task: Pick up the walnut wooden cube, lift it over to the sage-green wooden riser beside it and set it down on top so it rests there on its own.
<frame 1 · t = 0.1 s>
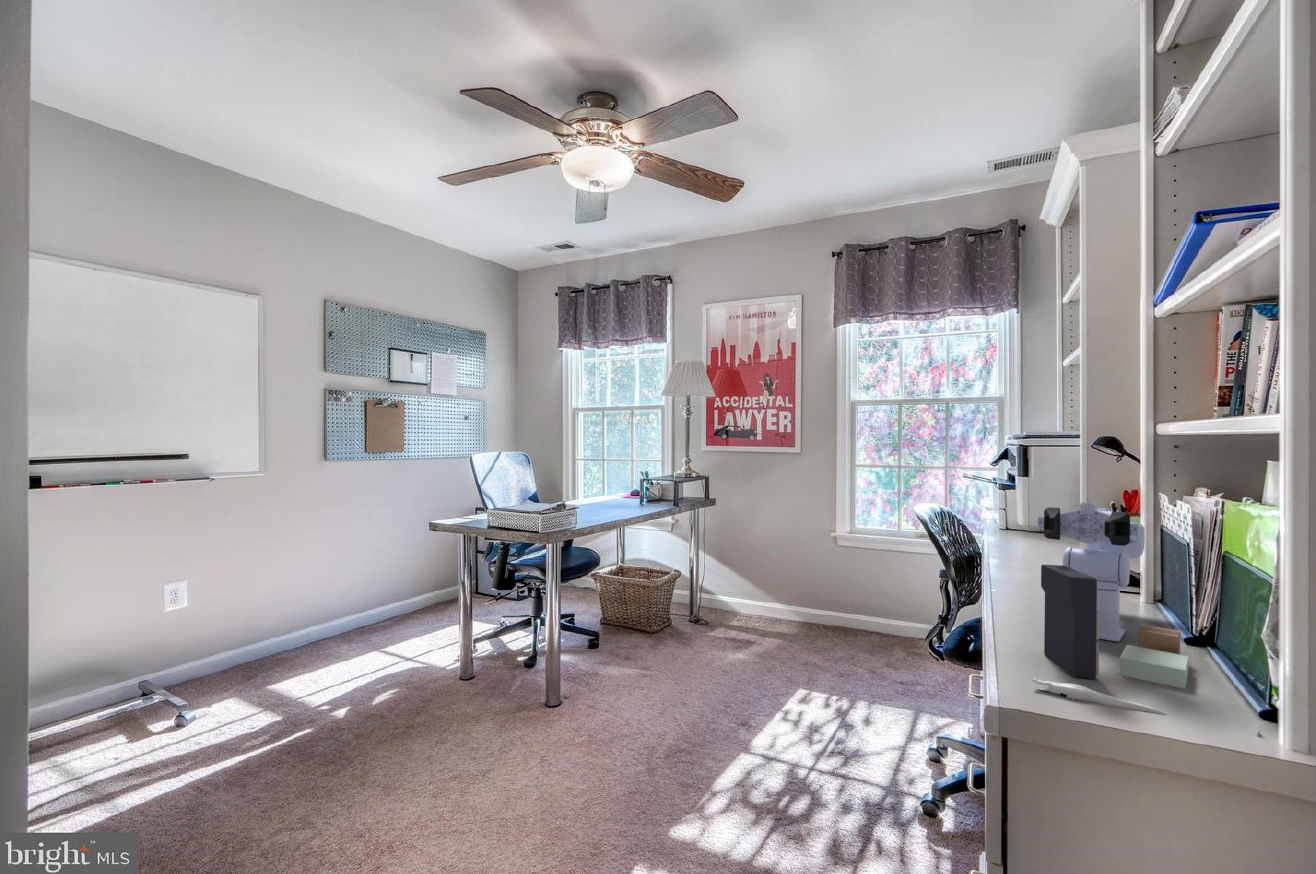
hand: (1078, 526, 102), 22 cm above the table, tool horizontal, fingers open, 7 cm apart
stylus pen: (1096, 704, 84), on the table
calculator: (1069, 668, 97), on the table
walnut cube: (1159, 661, 101), on the table
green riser: (1154, 676, 95), on the table
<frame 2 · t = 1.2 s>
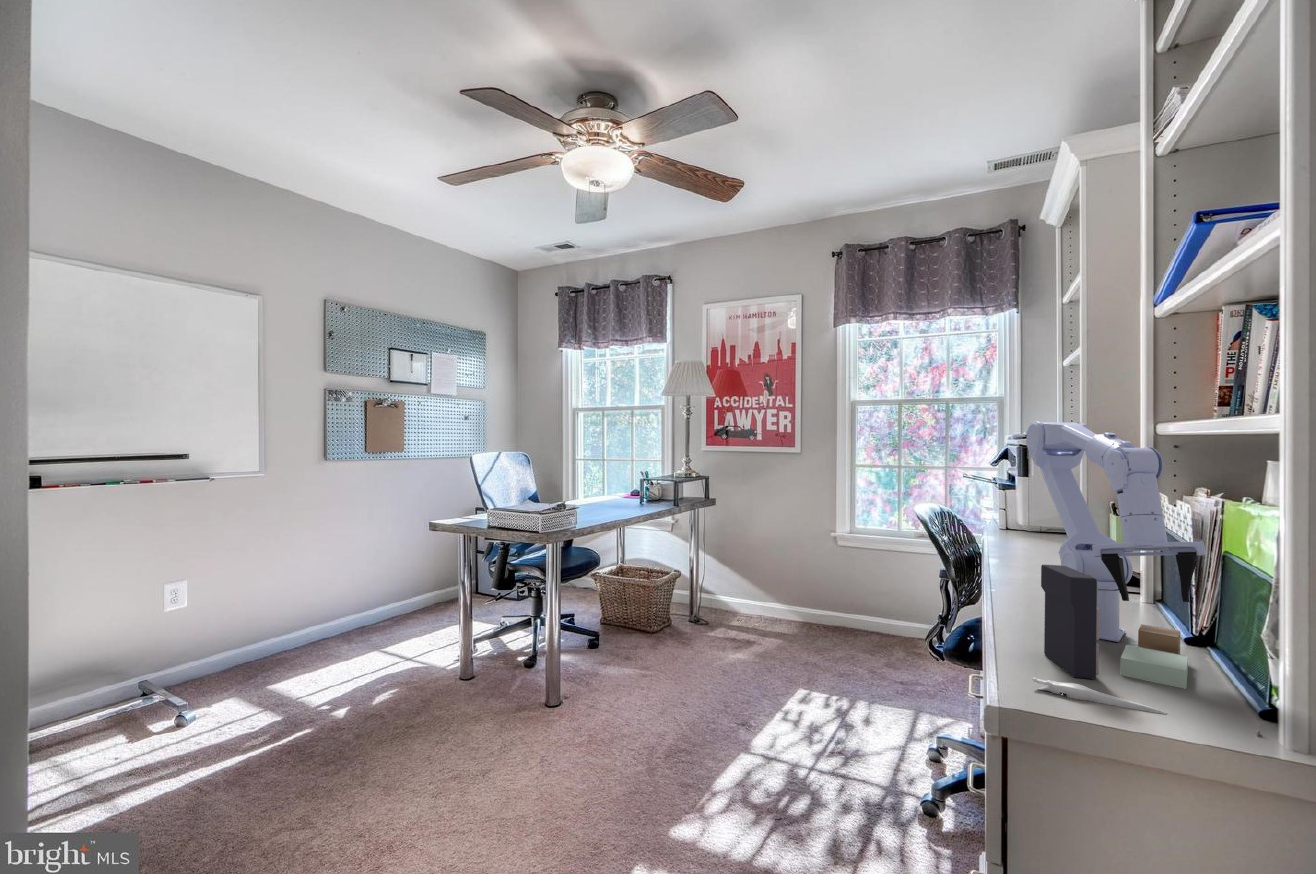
hand: (1155, 601, 99), 10 cm above the table, tool pointing down, fingers open, 7 cm apart
nothing on the table moved.
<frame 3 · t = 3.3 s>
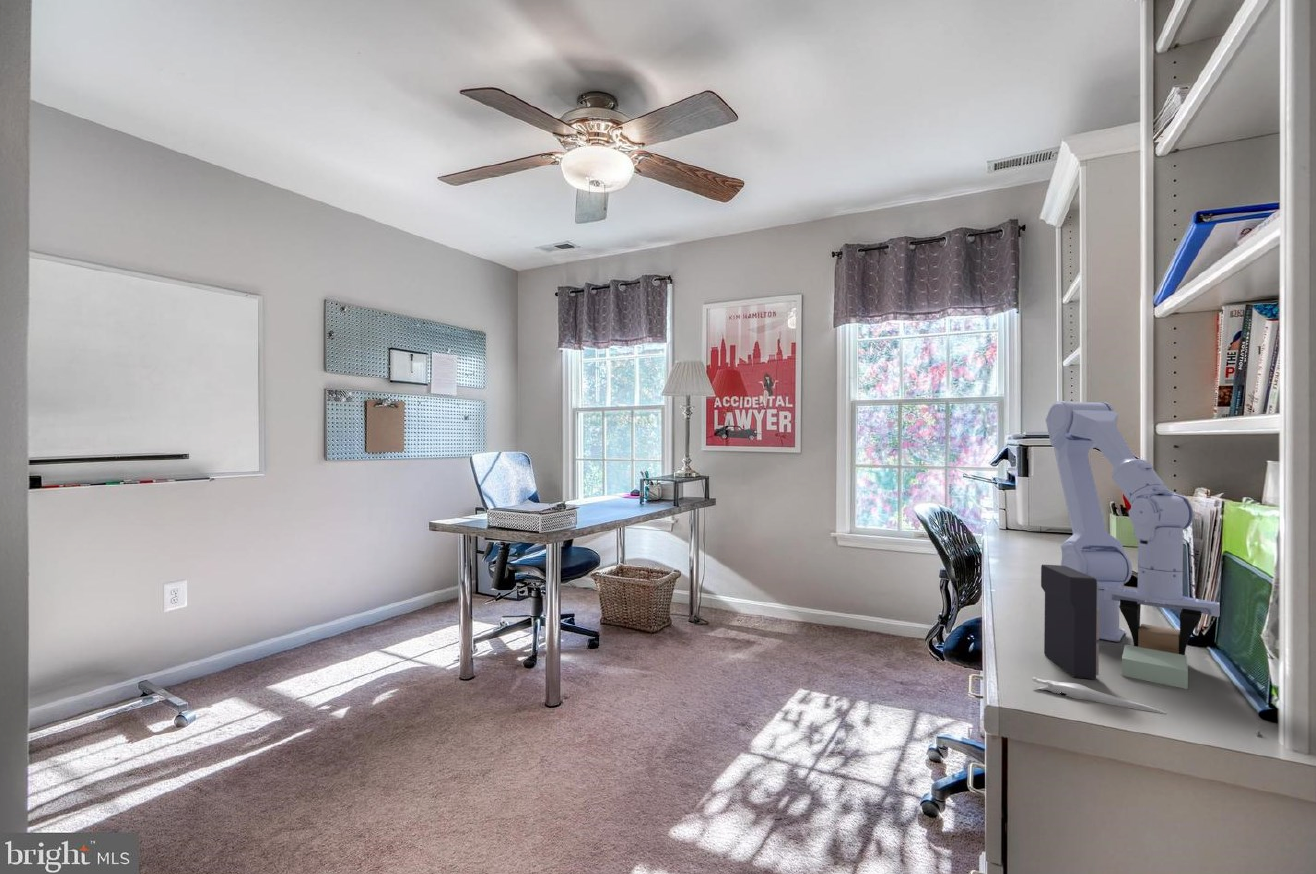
hand: (1159, 651, 101), 1 cm above the table, tool pointing down, fingers closed on walnut cube, 5 cm apart
walnut cube: (1159, 660, 101), on the table, touching gripper
everything else where it was.
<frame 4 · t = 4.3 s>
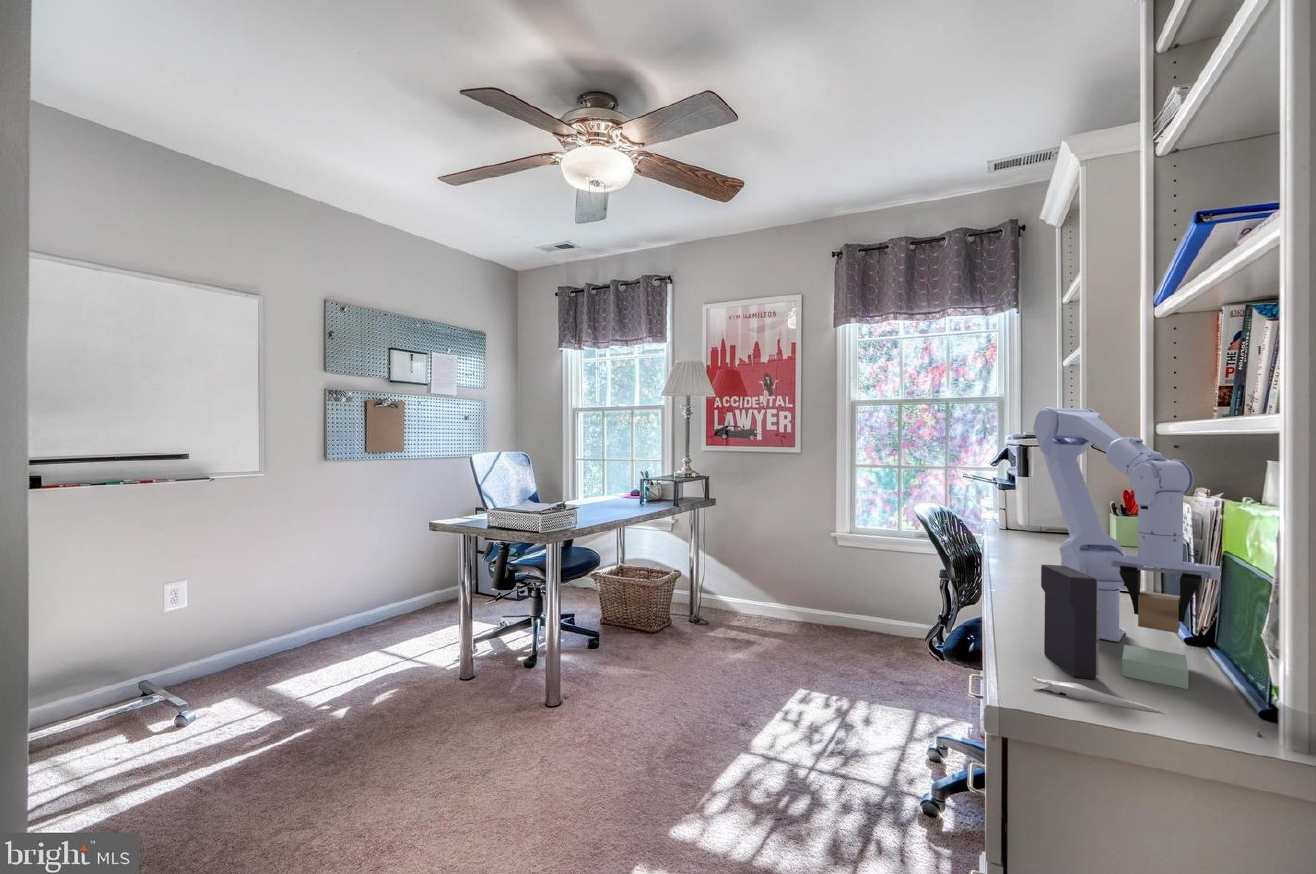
hand: (1159, 616, 101), 7 cm above the table, tool pointing down, fingers closed on walnut cube, 5 cm apart
walnut cube: (1159, 626, 101), point 6 cm above the table, touching gripper
everything else where it was.
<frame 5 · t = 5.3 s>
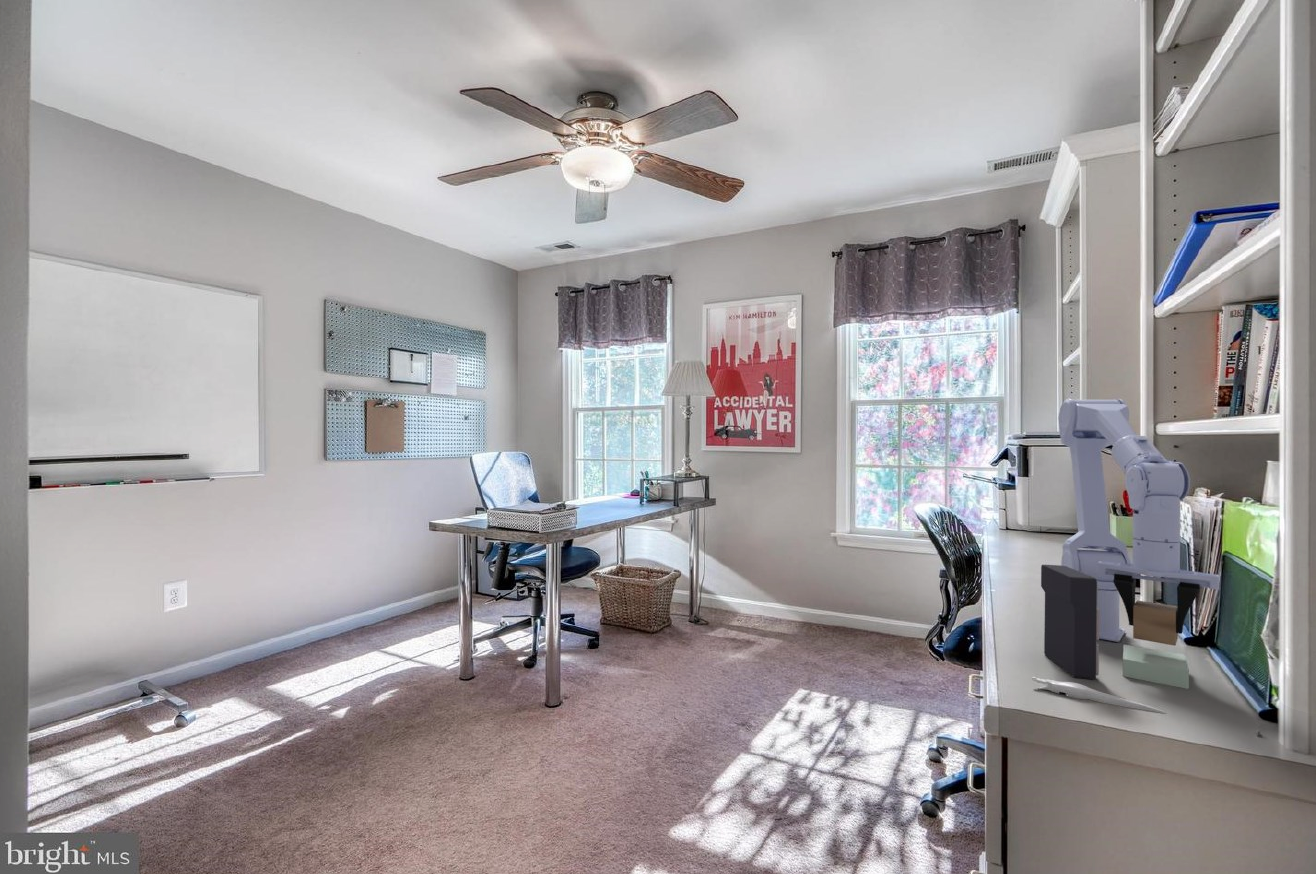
hand: (1155, 628, 95), 7 cm above the table, tool pointing down, fingers closed on walnut cube, 5 cm apart
walnut cube: (1155, 638, 95), point 5 cm above the table, touching gripper
everything else where it was.
when the fingers open (6 cm above the table, at t = 6.3 s): walnut cube drops 2 cm, resting on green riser.
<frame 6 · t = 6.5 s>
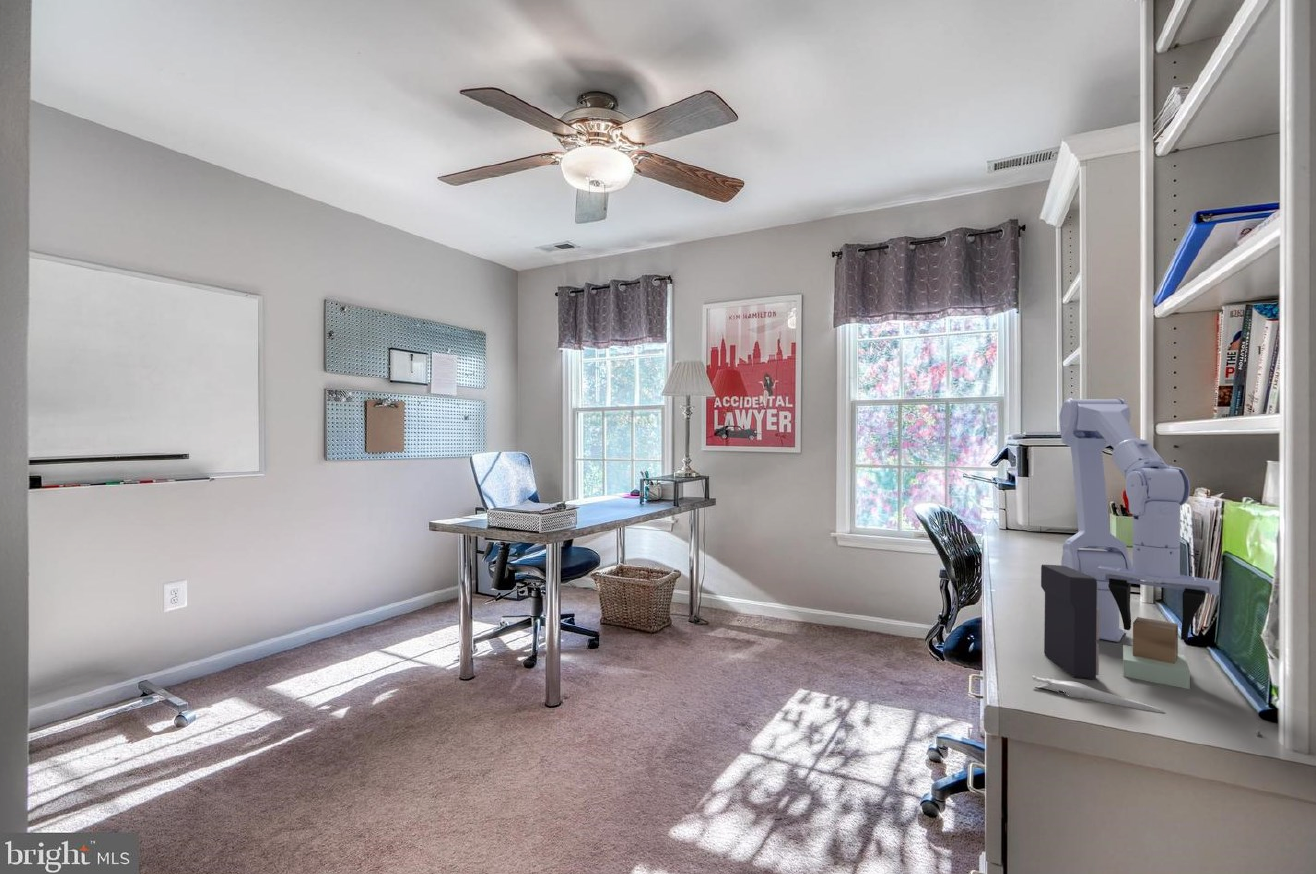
hand: (1155, 633, 95), 6 cm above the table, tool pointing down, fingers open, 6 cm apart
walnut cube: (1155, 655, 95), point 2 cm above the table, touching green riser
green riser: (1154, 677, 95), on the table, touching walnut cube
everything else where it was.
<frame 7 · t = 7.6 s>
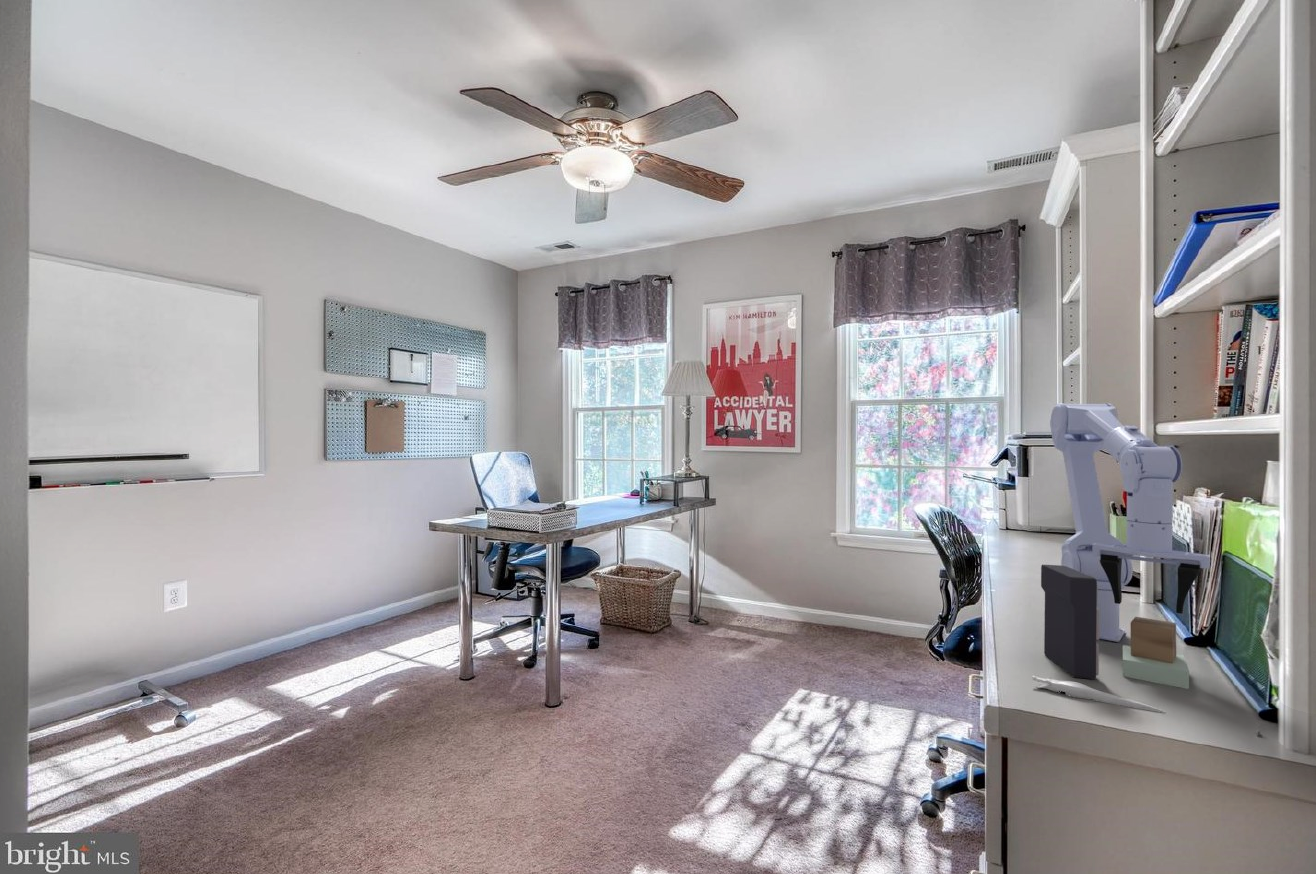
hand: (1148, 607, 98), 9 cm above the table, tool pointing down, fingers open, 7 cm apart
walnut cube: (1153, 655, 95), point 3 cm above the table
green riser: (1153, 677, 95), on the table
everything else where it was.
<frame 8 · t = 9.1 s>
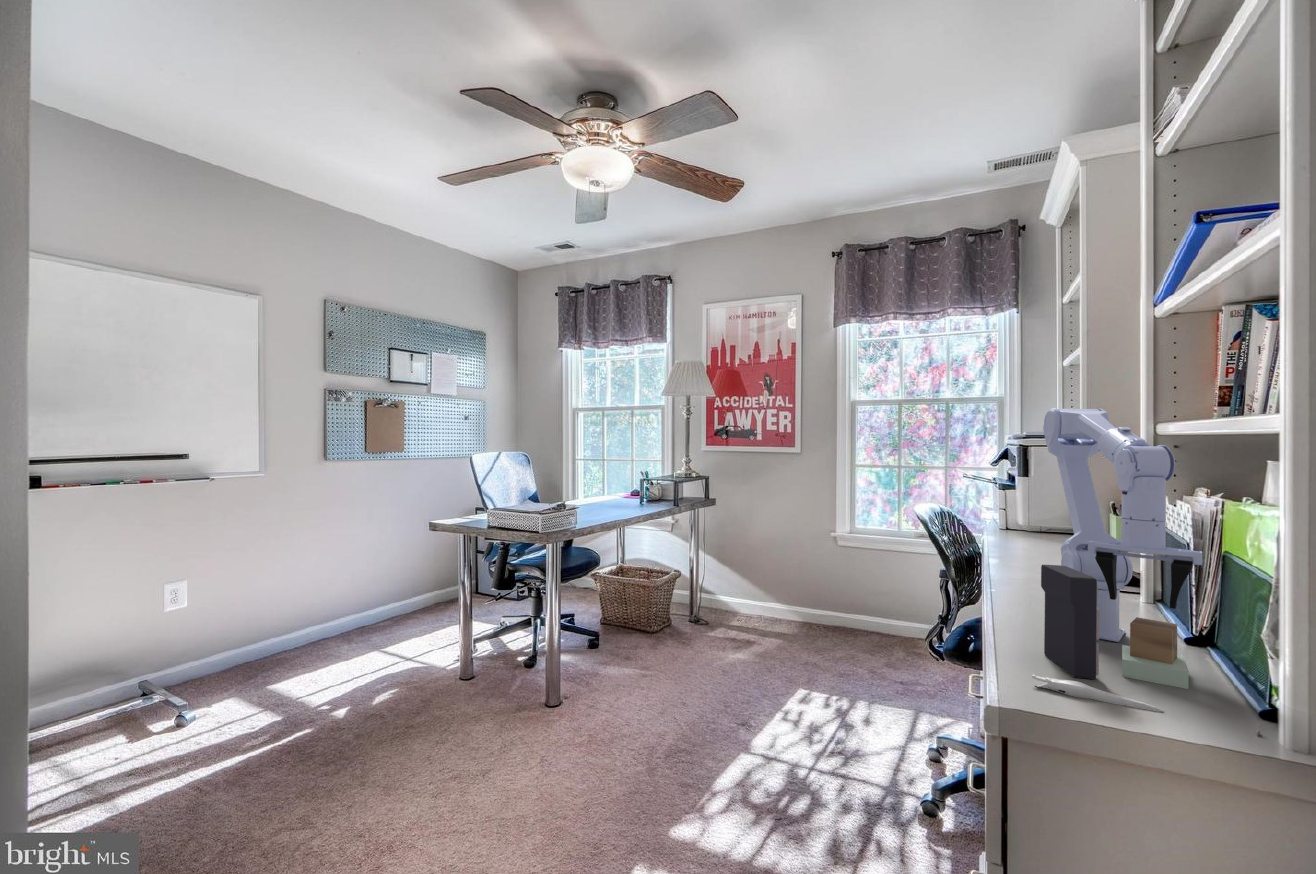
hand: (1142, 603, 100), 9 cm above the table, tool pointing down, fingers open, 7 cm apart
nothing on the table moved.
at the end: walnut cube inside the target area on the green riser (0.3 cm from its centre), point 3.0 cm above the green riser's base; walnut cube tilted 1°; the gripper is holding nothing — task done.
